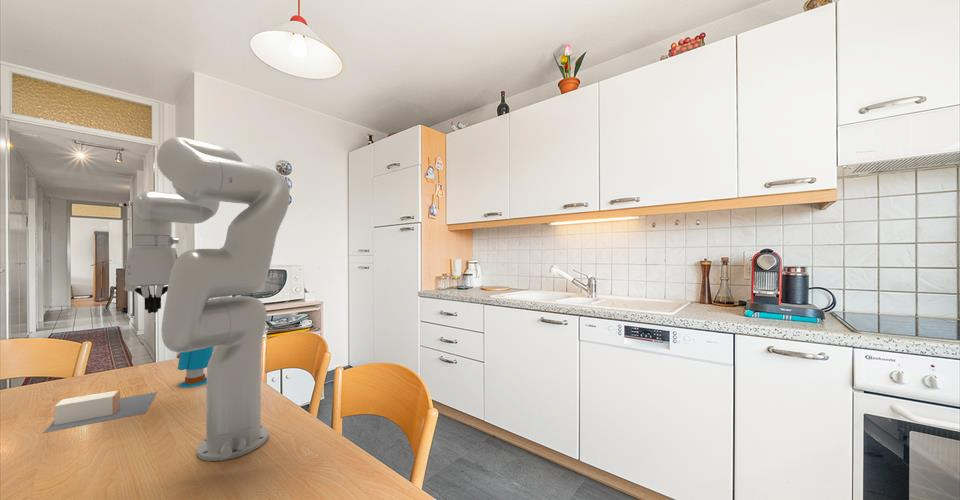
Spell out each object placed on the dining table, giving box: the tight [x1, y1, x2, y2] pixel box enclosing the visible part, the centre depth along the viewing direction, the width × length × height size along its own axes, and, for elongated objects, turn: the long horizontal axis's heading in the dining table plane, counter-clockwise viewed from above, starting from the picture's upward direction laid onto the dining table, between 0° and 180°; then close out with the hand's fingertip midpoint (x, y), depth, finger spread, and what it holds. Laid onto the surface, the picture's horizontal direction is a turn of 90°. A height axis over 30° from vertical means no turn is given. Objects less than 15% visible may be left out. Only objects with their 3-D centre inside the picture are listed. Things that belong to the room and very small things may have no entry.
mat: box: [42, 391, 158, 434], centre depth 90 cm, size 16×17×1 cm
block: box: [53, 389, 121, 425], centre depth 87 cm, size 4×4×10 cm
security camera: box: [176, 346, 214, 388], centre depth 109 cm, size 8×21×10 cm
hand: (153, 312), depth 92 cm, fingers closed
